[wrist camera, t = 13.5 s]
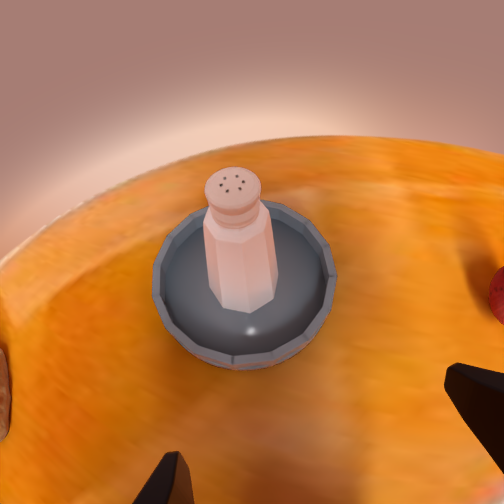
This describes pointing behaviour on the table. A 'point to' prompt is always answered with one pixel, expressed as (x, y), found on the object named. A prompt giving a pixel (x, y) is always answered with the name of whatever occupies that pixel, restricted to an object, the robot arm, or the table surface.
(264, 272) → the pepper shaker
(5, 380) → the pastry
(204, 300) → the dish
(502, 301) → the onion
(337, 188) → the table surface
